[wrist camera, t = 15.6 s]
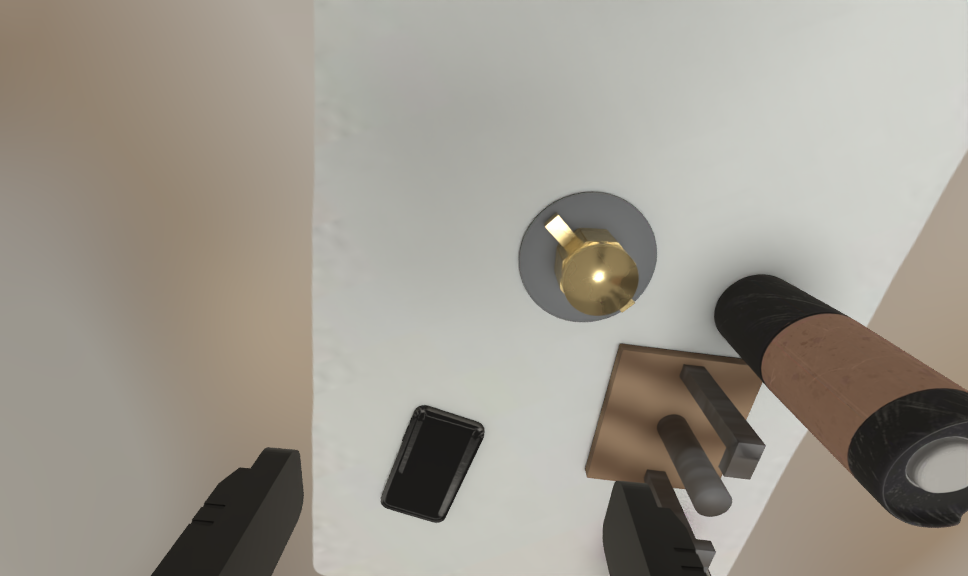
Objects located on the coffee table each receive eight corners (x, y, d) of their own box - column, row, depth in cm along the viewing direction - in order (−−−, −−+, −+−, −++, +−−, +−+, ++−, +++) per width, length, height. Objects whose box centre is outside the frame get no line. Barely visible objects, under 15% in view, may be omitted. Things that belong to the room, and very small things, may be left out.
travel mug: (722, 269, 40) (915, 412, 21) (808, 273, 40) (1076, 420, 21) (702, 343, 43) (857, 526, 24) (782, 347, 43) (998, 534, 24)
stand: (619, 343, 43) (660, 425, 32) (761, 361, 43) (850, 448, 32) (585, 469, 49) (609, 573, 38) (709, 484, 49) (768, 591, 39)
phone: (487, 429, 47) (441, 525, 52) (487, 422, 48) (443, 516, 53) (415, 406, 46) (377, 506, 51) (417, 399, 47) (379, 498, 52)
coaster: (530, 183, 37) (531, 184, 37) (671, 201, 38) (673, 203, 37) (510, 310, 42) (510, 313, 42) (635, 326, 42) (637, 329, 42)
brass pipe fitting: (523, 239, 39) (527, 258, 34) (576, 193, 37) (588, 207, 32) (598, 319, 41) (611, 348, 37) (650, 281, 40) (671, 305, 35)
